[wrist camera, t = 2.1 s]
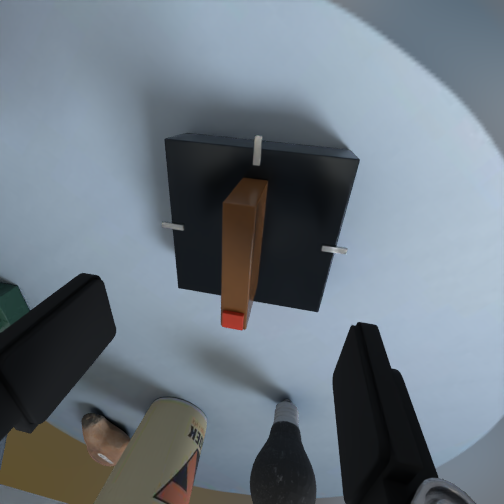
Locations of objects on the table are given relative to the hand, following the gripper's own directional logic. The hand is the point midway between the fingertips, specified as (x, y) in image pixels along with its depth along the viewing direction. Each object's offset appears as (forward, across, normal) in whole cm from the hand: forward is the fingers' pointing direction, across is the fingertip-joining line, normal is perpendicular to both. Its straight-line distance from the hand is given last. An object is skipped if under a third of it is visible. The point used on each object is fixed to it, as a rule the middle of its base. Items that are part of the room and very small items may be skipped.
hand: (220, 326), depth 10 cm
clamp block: (+10, 0, 0) cm, 10 cm away
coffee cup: (+10, +8, +29) cm, 32 cm away
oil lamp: (+10, +19, +37) cm, 43 cm away
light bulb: (+10, -5, +21) cm, 24 cm away
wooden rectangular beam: (+7, 0, 0) cm, 7 cm away
